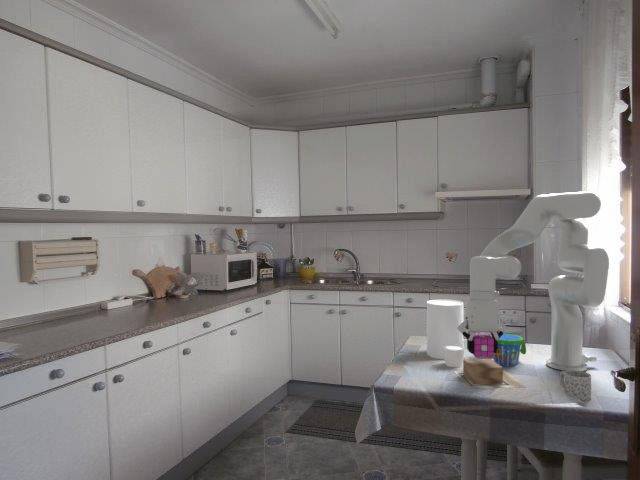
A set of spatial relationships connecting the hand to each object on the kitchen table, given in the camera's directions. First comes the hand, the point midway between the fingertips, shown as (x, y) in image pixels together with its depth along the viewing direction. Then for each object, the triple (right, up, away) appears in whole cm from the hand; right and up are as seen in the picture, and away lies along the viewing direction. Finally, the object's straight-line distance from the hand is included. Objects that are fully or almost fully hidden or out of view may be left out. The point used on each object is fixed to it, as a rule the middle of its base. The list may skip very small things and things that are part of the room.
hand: (482, 351), depth 144 cm
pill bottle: (+12, -9, +28) cm, 32 cm away
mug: (+23, -10, -11) cm, 27 cm away
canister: (-3, -9, +31) cm, 33 cm away
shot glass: (-5, -9, +15) cm, 18 cm away
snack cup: (+14, -9, +17) cm, 24 cm away
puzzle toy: (0, -1, 0) cm, 1 cm away
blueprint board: (+2, -10, 0) cm, 10 cm away
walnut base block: (0, -9, 0) cm, 9 cm away
